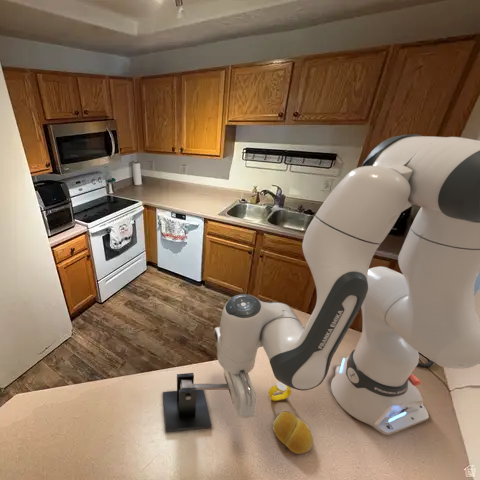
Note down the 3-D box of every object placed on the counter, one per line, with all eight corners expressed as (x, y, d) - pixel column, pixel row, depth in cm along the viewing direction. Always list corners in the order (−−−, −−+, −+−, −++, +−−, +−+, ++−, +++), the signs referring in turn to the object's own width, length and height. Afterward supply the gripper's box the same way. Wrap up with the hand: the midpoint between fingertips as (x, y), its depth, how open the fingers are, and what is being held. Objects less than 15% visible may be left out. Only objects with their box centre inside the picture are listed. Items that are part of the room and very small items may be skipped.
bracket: (203, 390, 77) (205, 363, 71) (211, 428, 68) (214, 400, 62) (163, 394, 76) (161, 366, 70) (166, 432, 68) (165, 404, 62)
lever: (229, 380, 71) (231, 375, 70) (235, 399, 67) (237, 393, 66) (179, 380, 70) (180, 374, 69) (181, 399, 65) (183, 393, 64)
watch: (285, 391, 76) (289, 379, 73) (290, 401, 73) (295, 389, 71) (265, 394, 75) (269, 382, 72) (270, 404, 73) (274, 392, 70)
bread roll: (302, 463, 61) (306, 455, 59) (267, 431, 67) (270, 423, 65) (317, 436, 66) (321, 428, 64) (282, 409, 72) (285, 400, 70)
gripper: (267, 395, 53) (258, 430, 60) (235, 321, 71) (230, 354, 78) (237, 398, 53) (231, 433, 60) (212, 323, 71) (210, 356, 77)
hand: (230, 388), depth 69 cm, fingers closed on lever, 5 cm apart
